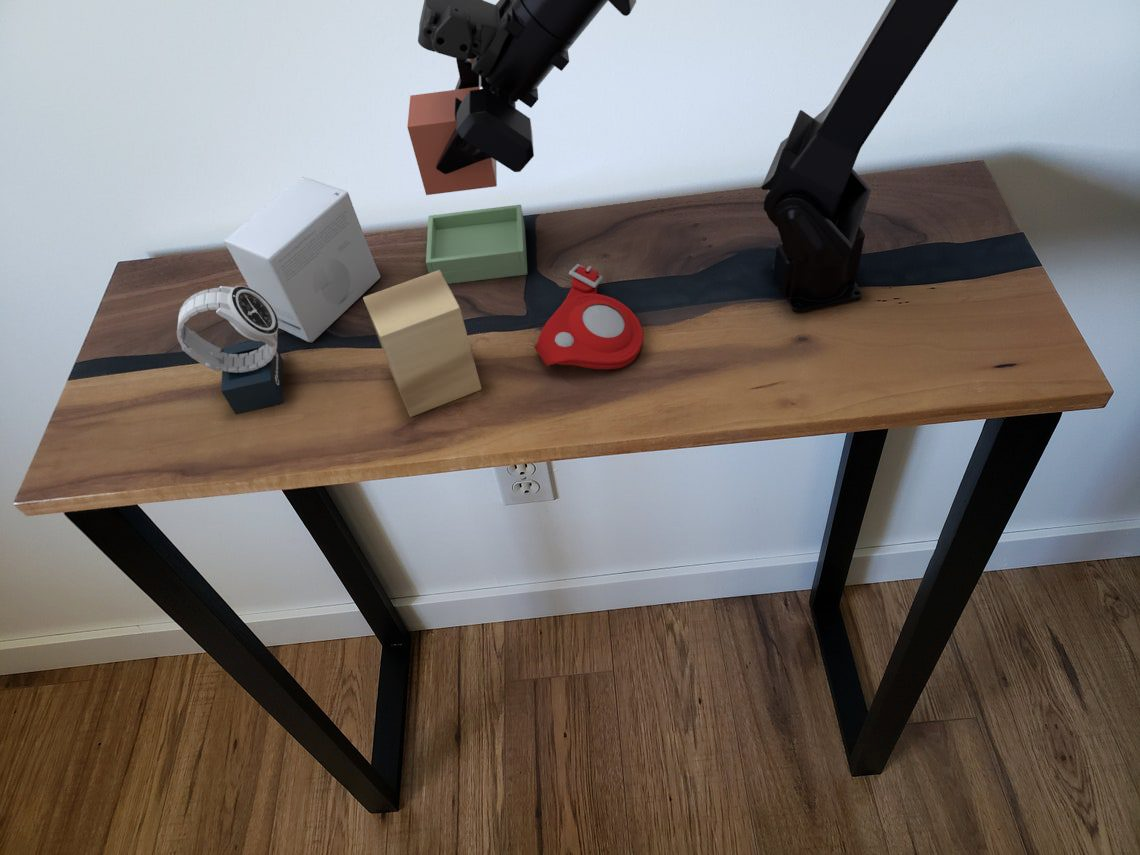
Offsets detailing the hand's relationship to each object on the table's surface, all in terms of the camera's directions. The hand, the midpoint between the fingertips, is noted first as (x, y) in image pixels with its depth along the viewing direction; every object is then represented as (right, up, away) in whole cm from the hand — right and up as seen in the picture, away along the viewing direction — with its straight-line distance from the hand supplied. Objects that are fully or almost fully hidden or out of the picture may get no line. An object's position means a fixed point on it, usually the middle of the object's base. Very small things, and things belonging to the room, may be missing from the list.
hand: (441, 153), depth 78 cm
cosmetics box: (-13, -12, +8) cm, 19 cm away
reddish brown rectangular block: (+2, -1, +2) cm, 3 cm away
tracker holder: (+14, -16, +1) cm, 21 cm away
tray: (+2, -7, +9) cm, 12 cm away
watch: (-17, -21, +1) cm, 27 cm away
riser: (0, -21, -1) cm, 21 cm away
